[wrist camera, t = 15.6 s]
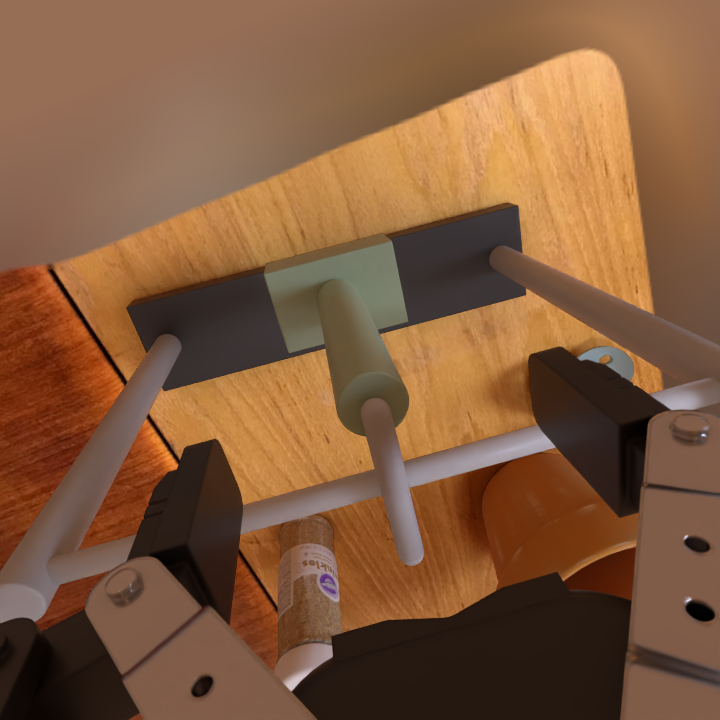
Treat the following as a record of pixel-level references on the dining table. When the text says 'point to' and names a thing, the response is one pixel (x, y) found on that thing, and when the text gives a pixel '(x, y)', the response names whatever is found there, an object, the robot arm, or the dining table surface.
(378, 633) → the robot arm
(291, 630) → the sprinkles bottle
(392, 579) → the dining table surface
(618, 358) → the pacifier
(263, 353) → the rack
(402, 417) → the peg on square base
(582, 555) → the flower pot
